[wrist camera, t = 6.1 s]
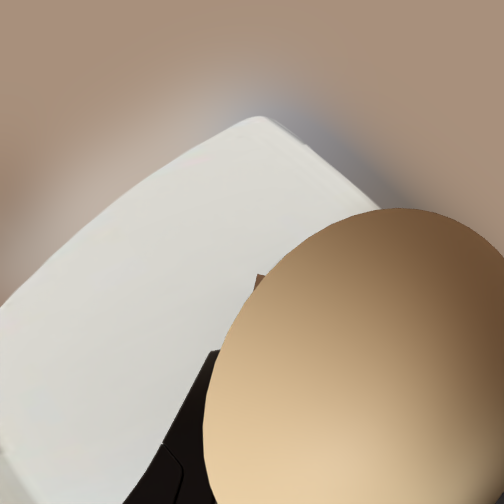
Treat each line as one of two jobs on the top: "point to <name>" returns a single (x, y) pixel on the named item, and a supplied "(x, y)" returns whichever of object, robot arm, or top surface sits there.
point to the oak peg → (365, 371)
